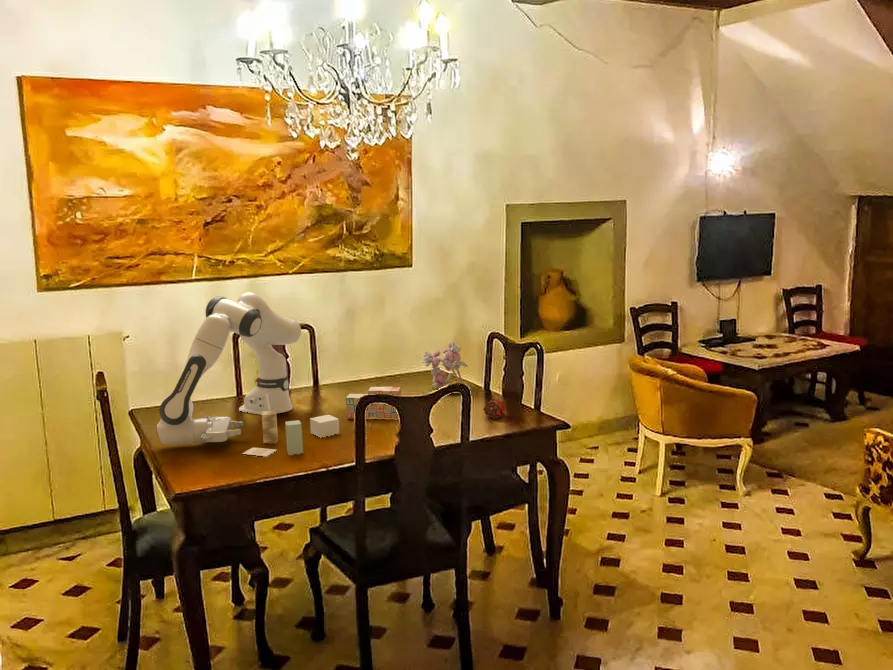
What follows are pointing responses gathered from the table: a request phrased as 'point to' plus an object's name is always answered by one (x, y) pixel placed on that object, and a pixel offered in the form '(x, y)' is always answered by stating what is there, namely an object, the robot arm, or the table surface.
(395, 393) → the stack of blocks
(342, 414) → the table surface
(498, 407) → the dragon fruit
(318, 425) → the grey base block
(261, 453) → the card
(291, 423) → the sage block
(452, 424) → the table surface
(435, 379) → the flower
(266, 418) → the birch block
